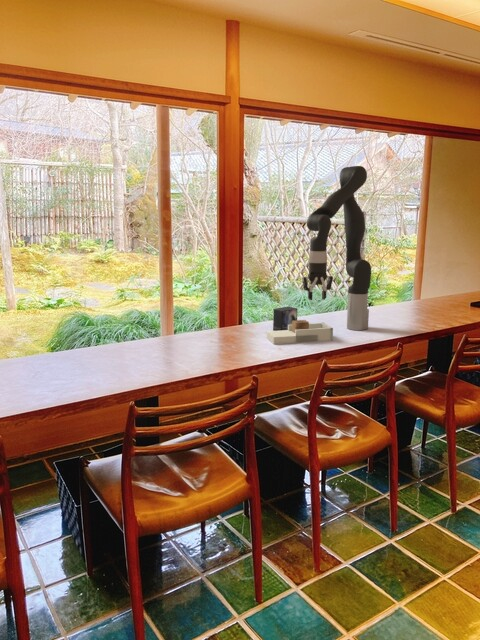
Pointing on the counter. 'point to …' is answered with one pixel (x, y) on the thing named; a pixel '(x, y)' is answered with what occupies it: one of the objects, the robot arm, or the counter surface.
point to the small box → (284, 317)
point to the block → (299, 325)
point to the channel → (301, 334)
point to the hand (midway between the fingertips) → (317, 299)
